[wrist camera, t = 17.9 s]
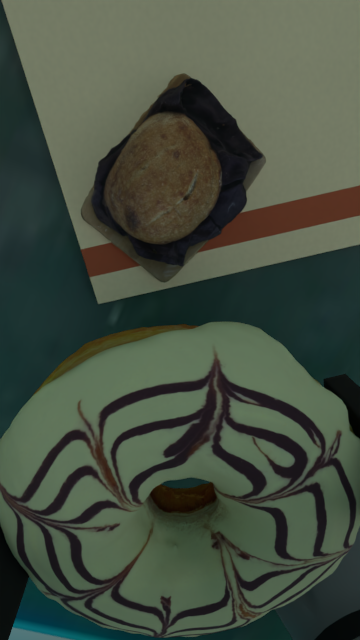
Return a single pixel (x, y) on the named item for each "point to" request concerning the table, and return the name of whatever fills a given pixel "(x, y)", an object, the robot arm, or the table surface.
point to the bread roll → (173, 179)
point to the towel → (234, 95)
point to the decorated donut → (173, 464)
